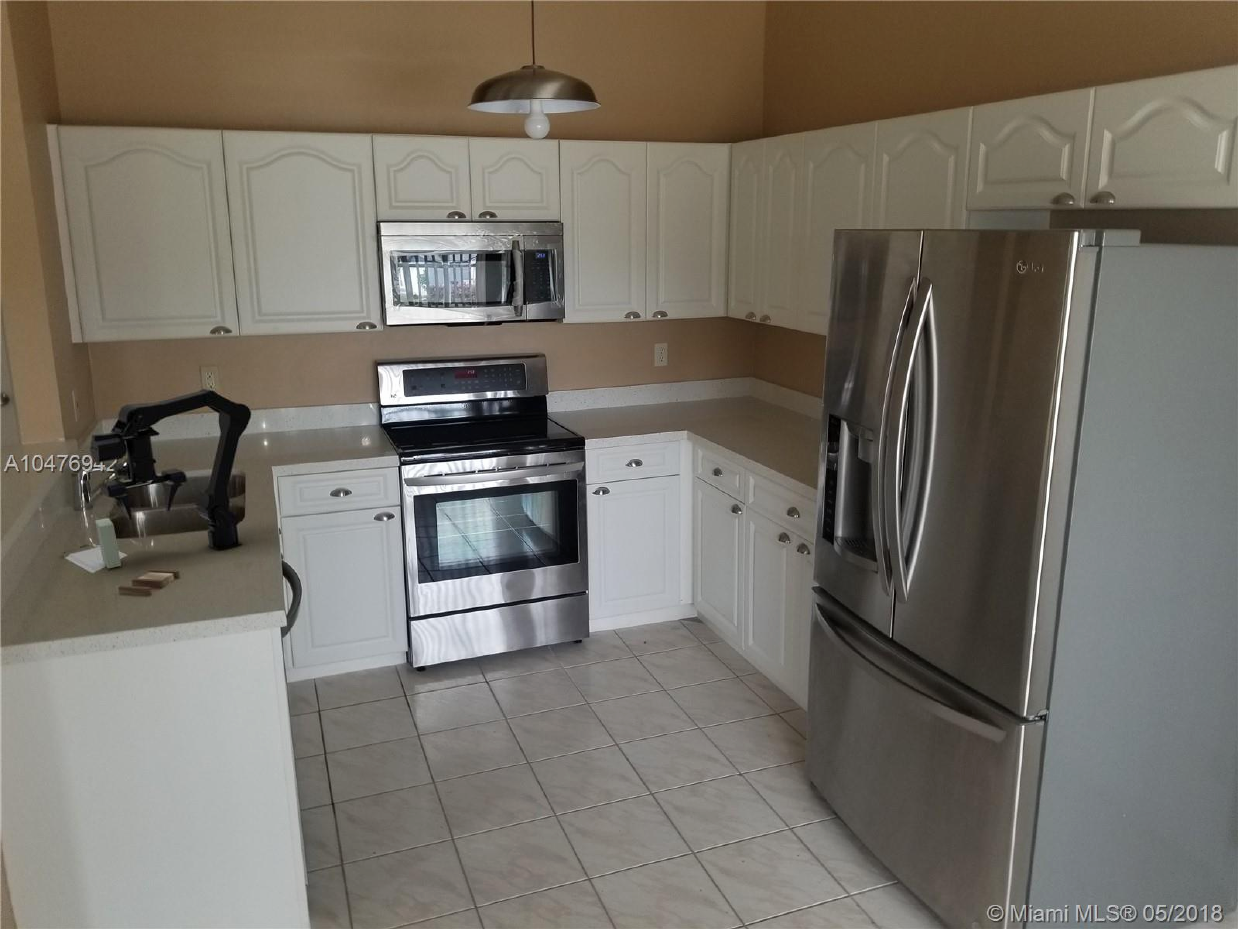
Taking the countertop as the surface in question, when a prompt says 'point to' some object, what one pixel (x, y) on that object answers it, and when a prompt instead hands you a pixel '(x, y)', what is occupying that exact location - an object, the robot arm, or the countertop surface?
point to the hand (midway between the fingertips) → (149, 515)
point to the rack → (147, 584)
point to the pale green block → (108, 543)
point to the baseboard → (89, 559)
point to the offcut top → (157, 576)
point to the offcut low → (168, 580)
